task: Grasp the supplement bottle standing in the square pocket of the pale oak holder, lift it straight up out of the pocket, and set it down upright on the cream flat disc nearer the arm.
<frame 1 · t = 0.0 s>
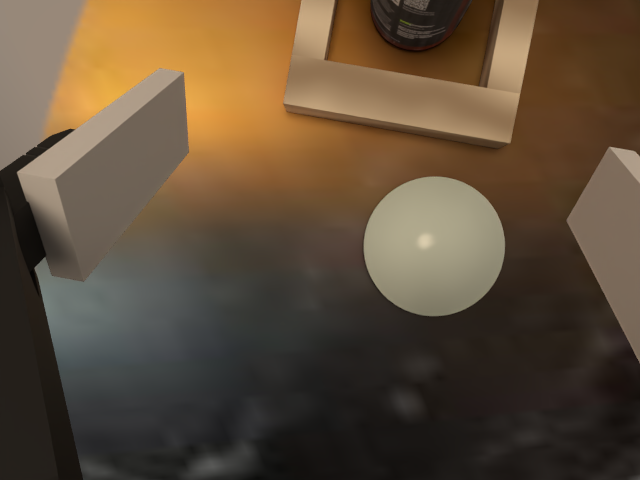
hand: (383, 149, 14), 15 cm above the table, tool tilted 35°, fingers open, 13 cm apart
oak holder: (414, 7, 29), on the table
supplement bottle: (414, 9, 29), resting in oak holder
cream flat disc: (432, 246, 29), on the table
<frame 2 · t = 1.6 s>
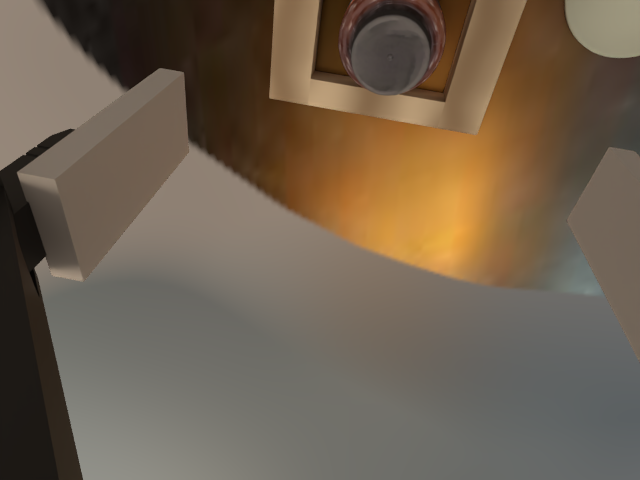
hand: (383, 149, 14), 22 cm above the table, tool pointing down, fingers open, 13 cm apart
oak holder: (393, 10, 31), on the table
supplement bottle: (393, 9, 32), resting in oak holder
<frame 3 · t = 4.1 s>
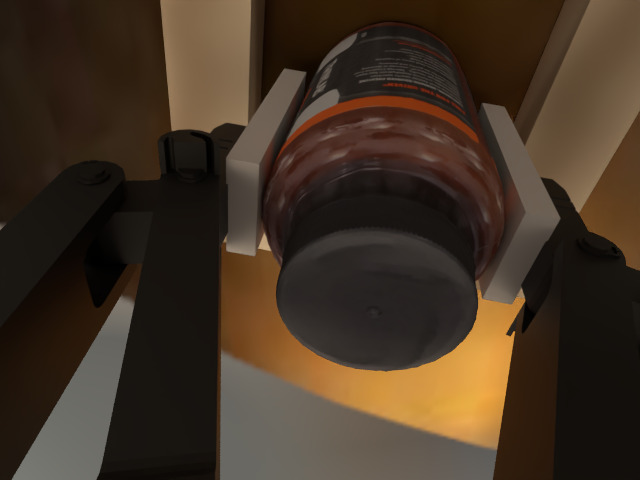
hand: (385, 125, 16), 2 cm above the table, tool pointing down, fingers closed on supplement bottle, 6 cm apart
oak holder: (386, 100, 18), on the table
supplement bottle: (386, 99, 18), resting in oak holder, touching gripper
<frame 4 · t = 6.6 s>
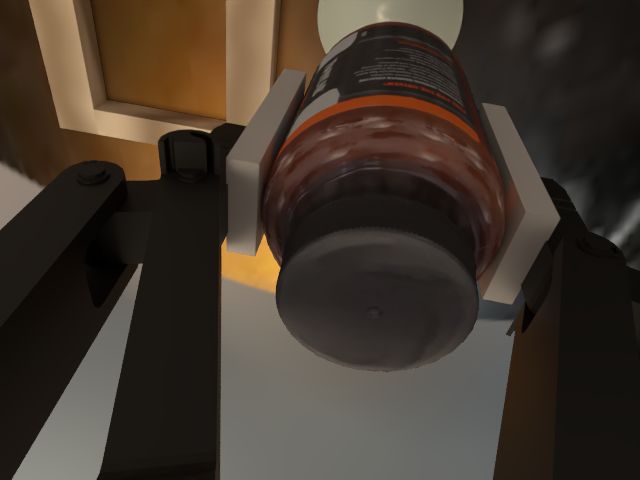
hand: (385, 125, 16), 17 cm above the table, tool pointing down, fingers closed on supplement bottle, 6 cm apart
oak holder: (164, 43, 31), on the table
supplement bottle: (386, 98, 18), point 14 cm above the table, touching gripper
cream flat disc: (388, 17, 29), on the table
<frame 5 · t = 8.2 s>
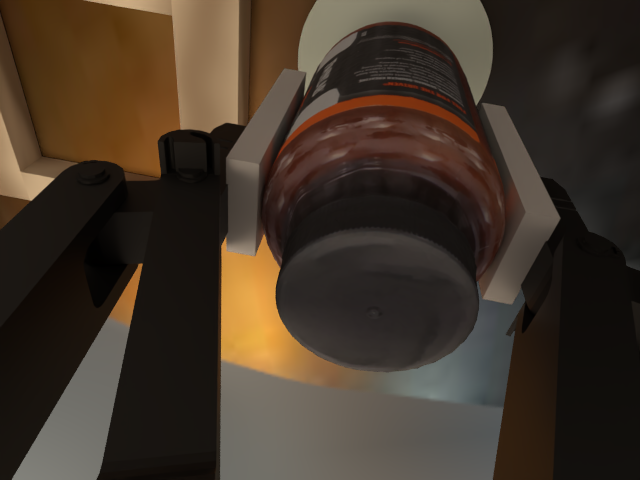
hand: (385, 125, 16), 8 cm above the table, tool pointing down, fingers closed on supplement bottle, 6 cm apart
oak holder: (105, 91, 25), on the table
supplement bottle: (386, 98, 18), point 5 cm above the table, touching gripper
cream flat disc: (392, 64, 22), on the table
when the fingers open (4 cm above the table, at t = 9.6 s): supplement bottle drops 1 cm, resting on cream flat disc.
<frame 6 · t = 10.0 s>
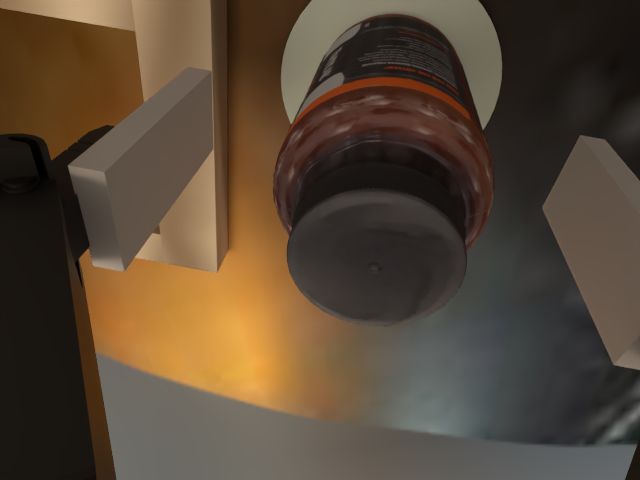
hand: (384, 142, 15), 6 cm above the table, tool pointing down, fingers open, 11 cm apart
oak holder: (68, 112, 22), on the table
supplement bottle: (388, 87, 19), resting on cream flat disc
cream flat disc: (387, 84, 19), on the table
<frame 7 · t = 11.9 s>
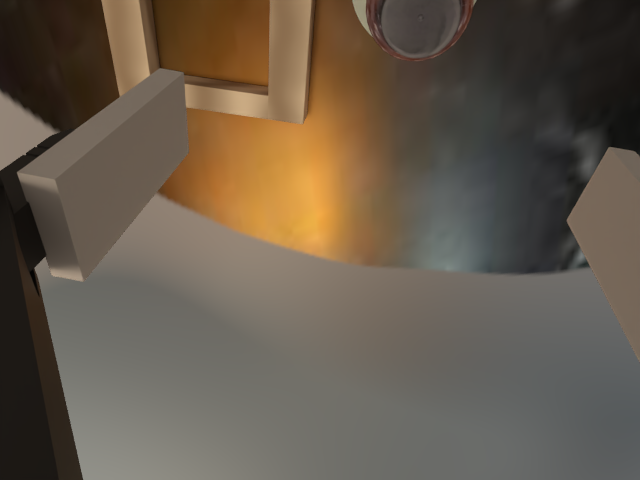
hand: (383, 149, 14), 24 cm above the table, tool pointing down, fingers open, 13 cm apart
oak holder: (213, 15, 35), on the table
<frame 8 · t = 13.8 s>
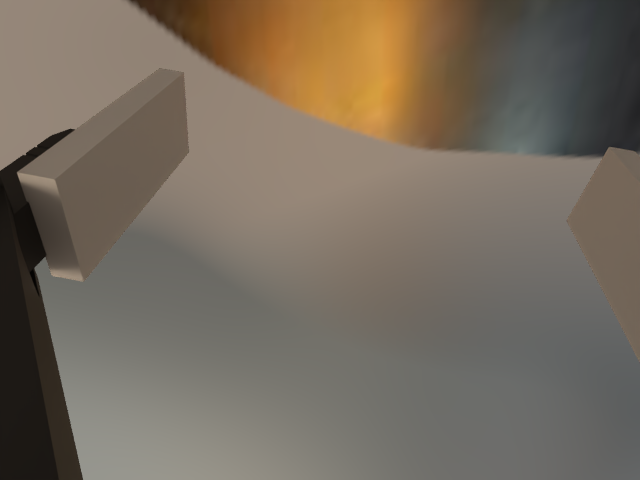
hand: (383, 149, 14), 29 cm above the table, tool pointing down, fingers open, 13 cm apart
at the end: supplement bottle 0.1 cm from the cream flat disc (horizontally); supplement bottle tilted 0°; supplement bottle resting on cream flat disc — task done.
